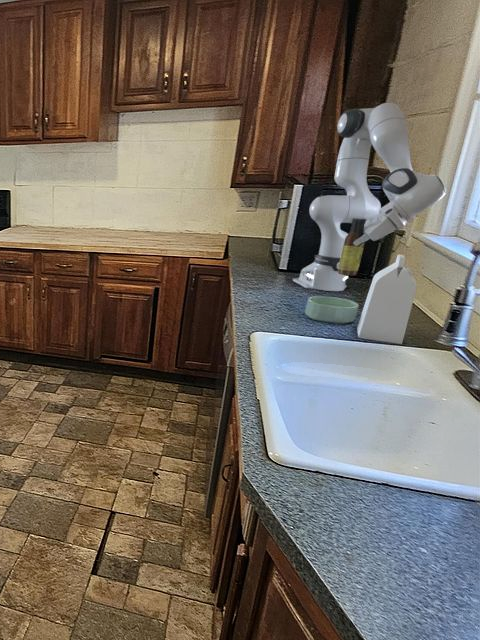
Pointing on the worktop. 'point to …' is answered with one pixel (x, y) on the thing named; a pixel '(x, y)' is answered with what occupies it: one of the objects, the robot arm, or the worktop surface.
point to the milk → (388, 304)
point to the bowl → (331, 309)
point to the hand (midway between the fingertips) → (352, 242)
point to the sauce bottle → (352, 249)
